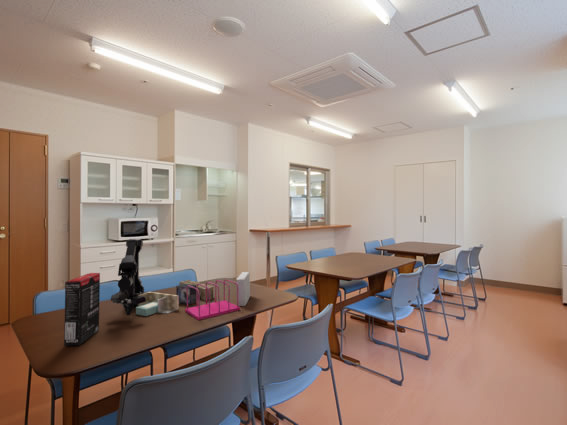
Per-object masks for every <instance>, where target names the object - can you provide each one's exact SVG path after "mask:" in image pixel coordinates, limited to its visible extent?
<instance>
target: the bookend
mask: <svg viewBox="0 0 567 425" xmlns="http://www.w3.org/2000/svg"><path fill="white" fill-rule="evenodd" d="M175 311H177V310H176V309H171V308H168V297H167V296H166V297H164V298H161V299H158V300H157V313H159V314H165V315H169V314H171V313H172V312H175Z"/></svg>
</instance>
